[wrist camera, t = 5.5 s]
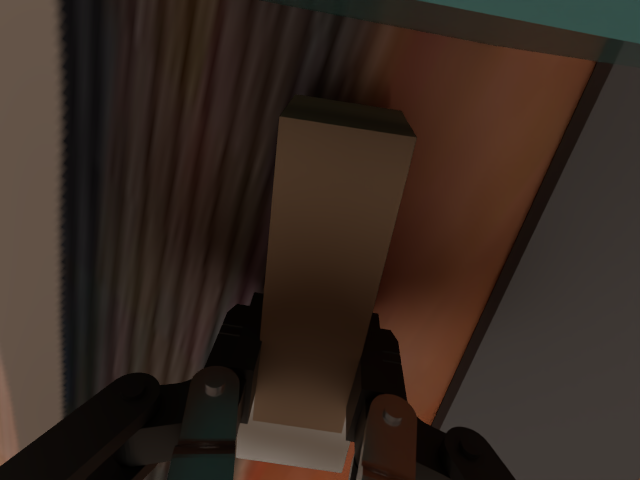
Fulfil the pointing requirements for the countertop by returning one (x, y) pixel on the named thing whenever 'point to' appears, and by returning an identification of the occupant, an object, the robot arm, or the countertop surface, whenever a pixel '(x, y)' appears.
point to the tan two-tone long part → (322, 273)
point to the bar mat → (567, 309)
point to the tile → (510, 23)
